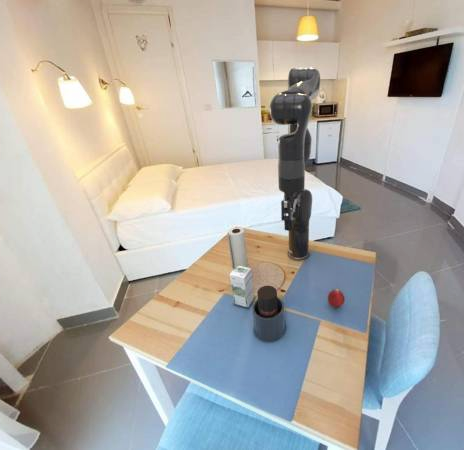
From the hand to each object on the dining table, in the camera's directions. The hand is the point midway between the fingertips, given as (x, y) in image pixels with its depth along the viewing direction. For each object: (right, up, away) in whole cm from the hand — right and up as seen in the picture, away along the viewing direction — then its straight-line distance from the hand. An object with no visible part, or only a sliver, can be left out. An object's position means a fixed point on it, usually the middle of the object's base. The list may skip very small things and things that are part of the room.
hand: (291, 223), depth 79 cm
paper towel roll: (-21, -22, +29) cm, 42 cm away
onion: (+16, -30, +12) cm, 36 cm away
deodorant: (-7, -34, +4) cm, 35 cm away
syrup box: (-17, -29, +15) cm, 37 cm away
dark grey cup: (-7, -35, +4) cm, 36 cm away
